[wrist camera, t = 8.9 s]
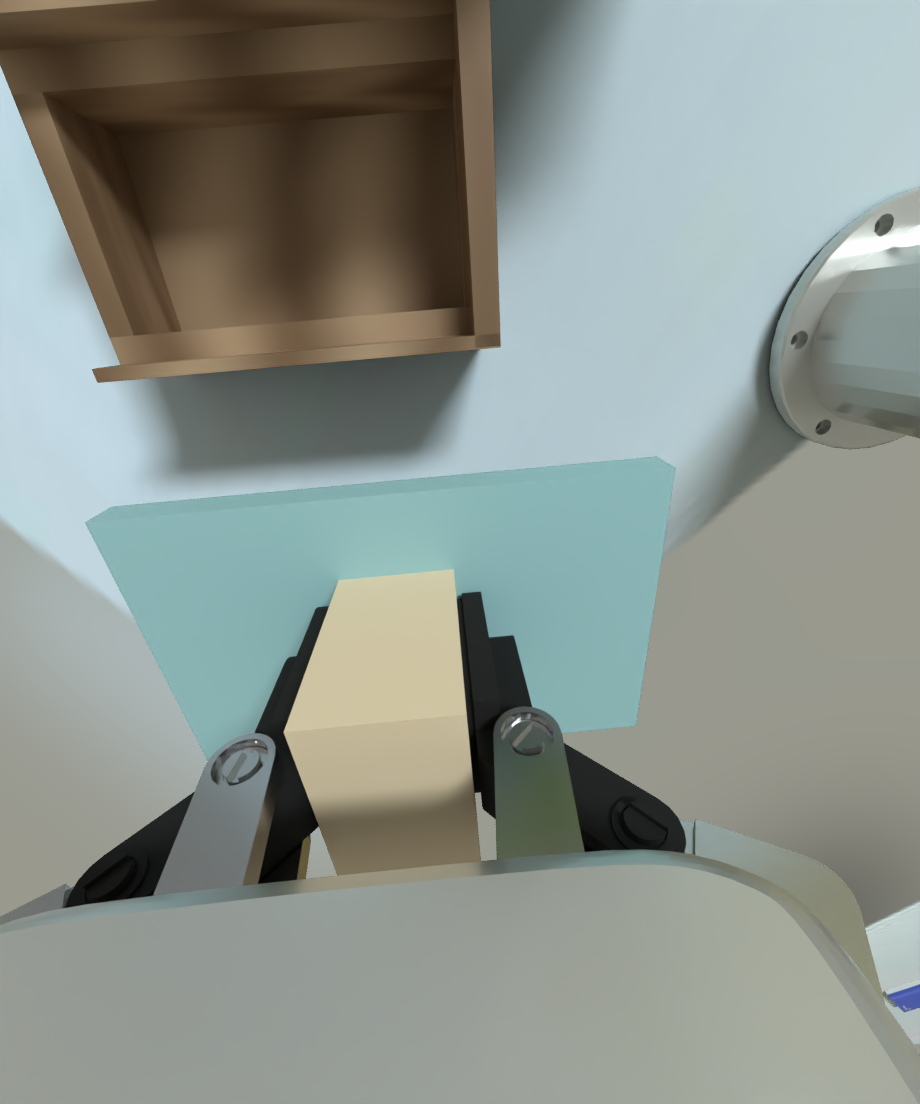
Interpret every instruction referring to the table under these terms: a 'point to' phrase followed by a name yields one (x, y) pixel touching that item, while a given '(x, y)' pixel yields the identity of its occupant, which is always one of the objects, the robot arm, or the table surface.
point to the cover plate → (476, 520)
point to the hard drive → (906, 995)
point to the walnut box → (267, 174)
